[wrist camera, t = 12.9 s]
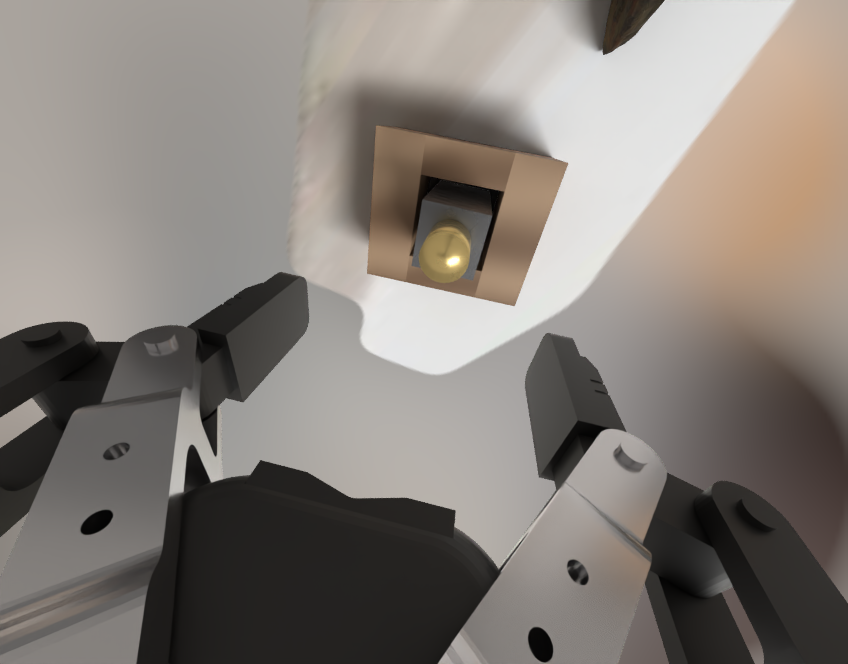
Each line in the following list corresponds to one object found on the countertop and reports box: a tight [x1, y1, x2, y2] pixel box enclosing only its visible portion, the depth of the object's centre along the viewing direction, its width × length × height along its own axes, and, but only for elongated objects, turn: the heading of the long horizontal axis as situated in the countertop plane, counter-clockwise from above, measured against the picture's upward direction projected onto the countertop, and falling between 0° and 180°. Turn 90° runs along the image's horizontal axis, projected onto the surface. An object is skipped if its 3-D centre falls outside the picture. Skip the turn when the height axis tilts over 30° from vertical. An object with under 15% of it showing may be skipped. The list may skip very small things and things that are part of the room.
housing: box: [367, 125, 568, 306], centre depth 24 cm, size 10×12×5 cm
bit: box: [411, 180, 492, 283], centre depth 21 cm, size 4×4×12 cm
